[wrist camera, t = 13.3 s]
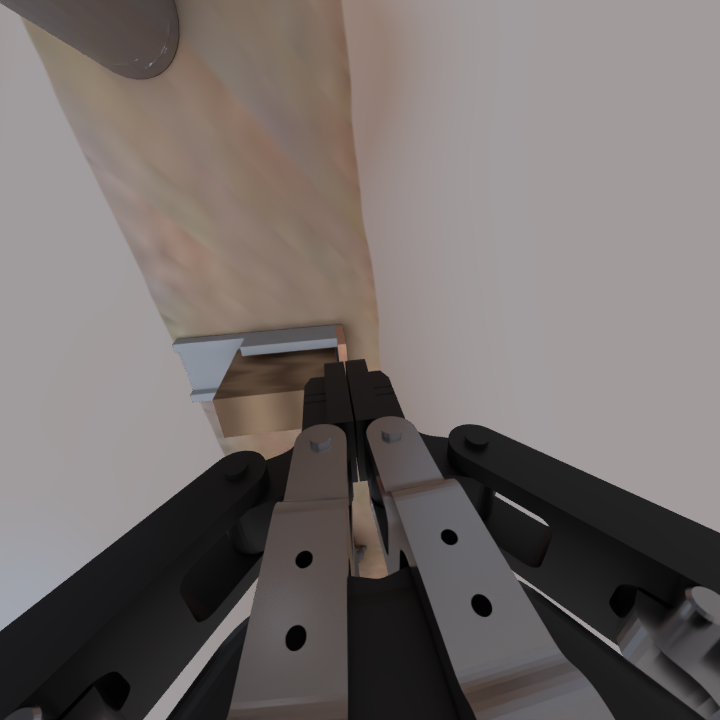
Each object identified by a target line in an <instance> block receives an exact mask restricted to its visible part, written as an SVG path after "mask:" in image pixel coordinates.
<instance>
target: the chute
mask: <svg viewBox="0 0 720 720" xmlns="http://www.w3.org/2000/svg"><path fill="white" fill-rule="evenodd" d="M172 347H173V349H174V352H175V353H180V355H181V358H182V361H183V364H184V367H185V369H186V372H187V375H188V378H189V381H190V384H191V387H192V389H193V391H192V393H191V394H190V397H191V400H192V402H201V401H211V400H213V398H214V396H215V394H216V392H217V390H218V388H219V386H220V384H221V382H222V380H223V378H224V376H225V374H226V372H227V370H228V368H229V366H230V364H231V362H232V360H233V358H234V356H235V354H236V352H237V350H238V349H240V350H241V354H242V356H248V355H258V354H269V353H279V352H289V351H300V350H310V349H320V348H331V347H335V354H336V362H341V361H343V362H344V367H345V361H347V349H346V341H345V336H344V331H343V326H342V324H338V325H327V326H316V327H305V328H294V329H283V330H272V331H261V332H250V333H239V334H228V335H217V336H206V337H195V338H184V339H177V340H176V341H175V342H174V343H173V344H172ZM345 373H346V370H345Z"/></svg>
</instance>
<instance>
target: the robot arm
mask: <svg viewBox="0 0 720 720" xmlns="http://www.w3.org/2000/svg"><path fill="white" fill-rule="evenodd" d="M0 3H1V4H3V5H4V6H6V7H8V8H9V9H11V10H13V11H15V12H16V13H17V14H19V15H21V16H22V17H24V18H26V19H27V20H29V21H31V22H32V23H34V24H36V25H37V26H39V27H41V28H42V29H44V30H45V31H47V32H49V33H50V34H52V35H54V36H55V37H57V38H59V39H60V40H62V41H64V42H65V43H67V44H68V45H70V46H72V47H73V48H75V49H77V50H78V51H80V52H81V53H83V54H85V55H86V56H88V57H90V58H91V59H93V60H95V61H96V62H98V63H100V64H101V65H103V66H105V67H106V68H108V69H110V70H111V71H113V72H115V73H117V74H119V75H122V76H124V77H127V78H133V79H148V78H151V77H154V76H156V75H158V74H160V73H161V72H162V71H164V70H165V69H166V68H167V67H168V65H169V64H170V62H171V61H172V59H173V57H174V54H175V52H176V49H177V43H178V37H179V30H178V18H177V13H176V7H175V4H174V1H173V0H0ZM345 370H346V373H345ZM303 403H304V405H303V419H302V432H301V433H300V434H299V435H298V436H297V438H296V440H295V444H294V447H293V448H292V449H290V450H289V451H287V452H285V453H284V454H281V455H279V456H276V457H273V458H271V459H268V460H265V459H264V457H263V456H262V455H261V454H259V453H257V452H254V451H240V452H236V453H232V454H230V455H228V456H226V457H224V458H222V459H221V460H219V461H218V462H217V463H215V464H214V465H213V466H212V467H211V468H209V469H208V470H206V471H205V472H204V473H203V474H201V475H200V476H199V477H198V478H196V479H195V480H194V481H192V482H191V483H190V484H189V485H187V486H186V487H185V488H184V489H182V490H181V491H180V492H178V493H177V494H176V495H174V496H173V497H172V498H171V499H169V500H168V501H167V502H166V503H164V504H163V505H162V506H160V507H159V508H158V509H157V510H155V511H154V512H153V513H151V514H150V515H149V516H148V517H146V518H145V519H144V520H143V521H141V522H140V523H139V524H137V525H136V526H135V527H133V528H132V529H131V530H130V531H129V532H127V533H126V534H125V535H123V536H122V537H121V538H119V539H118V540H117V541H116V542H114V543H113V544H112V545H110V546H109V547H108V548H107V549H105V550H104V551H103V552H101V553H100V554H99V555H98V556H96V557H95V558H94V559H92V560H91V561H90V562H89V563H87V564H86V565H85V566H83V567H82V568H81V569H80V570H79V571H77V572H76V573H74V574H73V575H72V576H71V577H69V578H68V579H67V580H66V581H64V582H63V583H62V584H60V585H59V586H58V587H57V588H55V589H54V590H53V591H52V592H50V593H49V594H48V595H46V596H45V597H44V598H42V599H41V600H40V601H39V602H37V603H36V604H35V605H33V606H32V607H31V608H30V609H28V610H27V611H26V612H25V613H23V614H22V615H21V616H20V617H18V618H17V619H16V620H14V621H13V622H12V623H10V624H9V625H8V626H7V627H5V628H4V629H3V630H1V631H0V720H143V719H144V718H145V716H146V715H147V714H148V713H149V712H150V710H151V709H152V708H153V707H154V705H155V704H156V703H157V702H158V700H159V699H160V698H161V697H162V695H163V694H164V693H165V692H166V691H167V689H168V688H169V687H170V685H171V684H172V683H173V682H174V681H175V679H176V678H177V677H178V676H179V674H180V673H181V672H182V671H183V669H184V668H185V667H186V665H188V663H189V662H190V661H191V660H192V658H193V657H194V656H195V655H196V653H197V652H198V651H199V650H200V648H201V647H202V646H203V645H204V643H205V642H206V641H207V640H208V639H209V637H210V636H211V635H212V634H213V632H214V631H215V630H216V629H217V627H218V626H219V625H220V623H221V622H222V621H223V620H224V619H225V617H226V616H227V615H228V614H229V612H230V611H231V610H232V609H233V608H234V606H235V605H236V604H237V603H238V601H239V600H240V599H241V598H242V596H243V595H244V594H245V593H246V591H247V590H248V589H249V588H250V586H251V585H252V584H253V583H254V582H255V580H256V579H257V578H258V582H257V586H256V592H255V596H254V601H253V605H252V609H251V614H250V616H249V617H248V618H246V619H245V620H244V621H243V622H242V623H241V624H240V625H239V626H238V627H237V628H235V629H234V630H233V632H232V633H231V634H230V635H229V636H228V637H227V638H226V639H225V640H224V642H223V643H222V644H221V645H220V647H219V648H218V649H217V651H216V652H215V653H214V654H213V656H212V657H211V659H210V660H209V661H208V663H207V664H206V665H205V667H204V668H203V669H202V671H201V672H200V674H199V675H198V676H197V678H196V679H195V680H194V682H193V683H192V685H191V686H190V687H189V689H188V690H187V692H186V693H185V694H184V696H183V697H182V698H181V700H180V701H179V702H178V704H177V705H176V707H175V708H174V709H173V711H172V712H171V713H170V715H169V716H168V718H167V719H166V720H720V533H719V532H716V531H714V530H712V529H710V528H708V527H705V526H703V525H701V524H699V523H697V522H694V521H692V520H690V519H688V518H686V517H683V516H681V515H679V514H677V513H674V512H672V511H670V510H668V509H666V508H663V507H661V506H659V505H657V504H655V503H652V502H650V501H648V500H646V499H643V498H641V497H639V496H637V495H634V494H632V493H630V492H628V491H626V490H623V489H621V488H619V487H617V486H615V485H612V484H610V483H608V482H606V481H604V480H601V479H599V478H597V477H595V476H593V475H590V474H588V473H586V472H584V471H582V470H579V469H577V468H575V467H572V466H570V465H568V464H566V463H564V462H561V461H559V460H557V459H555V458H553V457H551V456H548V455H546V454H544V453H542V452H539V451H537V450H535V449H533V448H531V447H528V446H526V445H524V444H522V443H520V442H517V441H515V440H513V439H511V438H508V437H506V436H504V435H502V434H500V433H497V432H495V431H493V430H491V429H489V428H486V427H483V426H479V425H472V424H468V425H467V424H466V425H461V426H458V427H456V428H454V429H453V430H452V431H451V432H450V434H449V438H445V437H436V436H429V435H425V434H422V433H420V432H418V431H417V429H416V428H415V426H414V425H413V424H412V423H411V422H410V421H408V420H406V419H405V417H404V415H403V412H402V410H401V407H400V405H399V402H398V400H397V397H396V395H395V392H394V390H393V388H392V385H391V382H390V380H389V377H388V376H386V375H385V374H384V373H382V372H381V371H371V372H368V369H367V365H366V362H365V359H360V360H350V361H345V367H344V362H343V361H341V362H331V363H324V377H314V378H310V379H309V381H308V382H307V383H306V385H305V386H304V401H303ZM356 458H357V462H356ZM357 465H358V471H359V477H360V481H367V480H368V486H369V495H370V505H371V509H372V513H373V517H374V520H375V524H376V528H377V532H378V535H379V539H380V543H381V547H382V550H383V554H384V558H385V562H386V566H387V571H388V576H386V577H384V578H380V579H372V578H363V577H355V570H354V540H353V509H352V501H353V497H354V493H353V482H358V476H357ZM496 492H498V493H499V494H501V495H502V496H504V497H506V498H508V499H509V500H511V501H513V502H515V503H516V504H518V505H520V506H522V507H523V508H525V509H527V510H528V511H530V512H532V513H534V514H535V515H537V516H539V517H540V518H542V519H543V520H544V521H545V522H546V523H547V524H548V525H549V526H546V525H544V524H542V523H540V522H538V521H537V520H535V519H533V518H531V517H530V516H528V515H527V514H525V513H523V512H521V511H519V510H518V509H516V508H514V507H513V506H511V505H509V504H508V503H506V502H504V501H503V500H501V499H499V498H497V497H496V496H495V494H496ZM512 571H514V572H515V573H517V574H518V575H519V576H521V577H522V578H524V579H525V580H526V581H528V582H529V583H531V584H532V585H533V586H535V587H536V588H538V589H539V590H540V591H542V592H543V593H545V594H546V595H547V596H549V597H550V598H552V599H553V600H555V601H556V602H557V603H559V604H560V605H562V606H563V607H564V608H566V609H567V610H569V611H570V612H571V613H573V614H574V615H576V616H577V617H579V618H580V619H581V620H583V621H584V622H585V623H587V624H588V625H590V626H591V627H592V628H594V629H595V630H597V631H598V632H599V633H601V634H602V635H604V636H605V637H606V638H608V639H609V640H611V641H612V642H613V643H615V644H616V645H618V646H619V648H620V651H621V653H622V655H623V656H622V655H620V654H619V653H618V652H616V651H615V650H613V649H612V648H611V647H610V646H608V645H607V644H606V643H604V642H603V641H602V640H601V639H599V638H598V637H597V636H595V635H594V634H593V633H591V632H590V631H589V630H587V629H586V628H584V627H583V626H582V625H581V624H579V623H578V622H577V621H575V620H574V619H573V618H571V617H570V616H569V615H568V614H566V613H565V612H563V611H562V610H561V609H560V608H558V607H557V606H556V605H554V604H553V603H552V602H550V601H549V600H548V599H546V598H545V597H544V596H542V595H541V594H540V593H538V592H537V591H535V590H534V589H533V588H531V587H529V586H528V585H526V584H524V583H523V582H521V581H519V580H517V578H516V577H515V575H514V573H513V572H512Z"/></svg>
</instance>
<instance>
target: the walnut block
mask: <svg viewBox="0 0 720 720" xmlns="http://www.w3.org/2000/svg"><path fill="white" fill-rule="evenodd" d="M331 362H336V354H335V347H331V348H320V349H310V350H300V351H289V352H279V353H269V354H258V355H248V356H242V354H241V350H240V349H238V350H237V352H236V354H235V356H234V358H233V360H232V362H231V364H230V366H229V368H228V370H227V372H226V374H225V376H224V378H223V380H222V382H221V384H220V386H219V388H218V390H217V392H216V394H215V396H214V398H213V403H214V406H215V409H216V413H217V416H218V419H219V422H220V425H221V428H222V431H223V434H224V438H225V437H234V436H242V435H251V434H259V433H268V432H277V431H285V430H294V429H302V419H303V405H304V403H303V401H304V386H305V385H306V383H307V382H308V381H309V379H310V378H314V377H324V363H331Z"/></svg>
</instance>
